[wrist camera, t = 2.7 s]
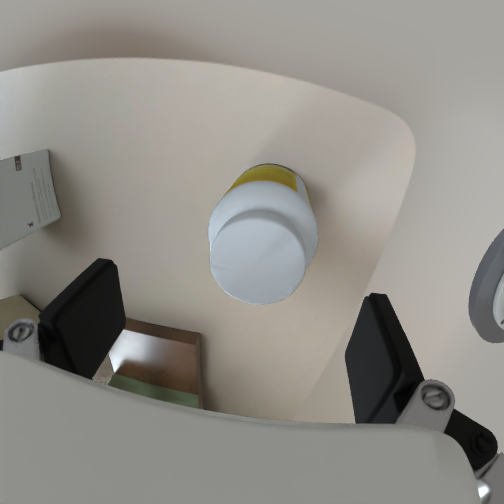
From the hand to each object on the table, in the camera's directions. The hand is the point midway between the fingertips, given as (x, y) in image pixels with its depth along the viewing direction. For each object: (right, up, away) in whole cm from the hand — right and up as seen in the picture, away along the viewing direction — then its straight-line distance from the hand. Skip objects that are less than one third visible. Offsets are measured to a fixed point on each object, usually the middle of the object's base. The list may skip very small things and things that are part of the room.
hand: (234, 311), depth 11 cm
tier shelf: (-12, -18, +27) cm, 35 cm away
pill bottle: (+2, +6, +14) cm, 16 cm away
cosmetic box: (-23, +10, +16) cm, 30 cm away
